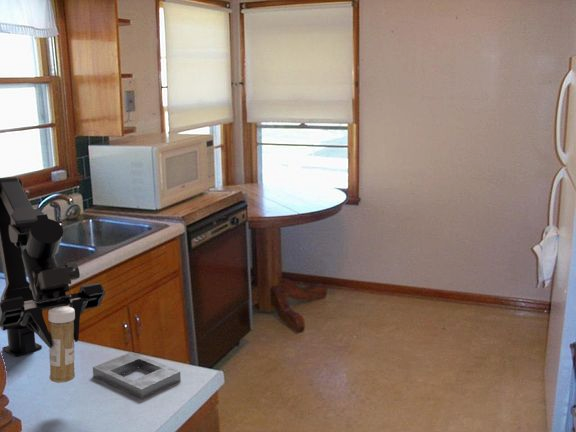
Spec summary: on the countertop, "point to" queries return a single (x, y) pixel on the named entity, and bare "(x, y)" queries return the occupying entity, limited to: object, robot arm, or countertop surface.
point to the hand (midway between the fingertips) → (64, 343)
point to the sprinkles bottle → (61, 344)
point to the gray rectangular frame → (141, 386)
